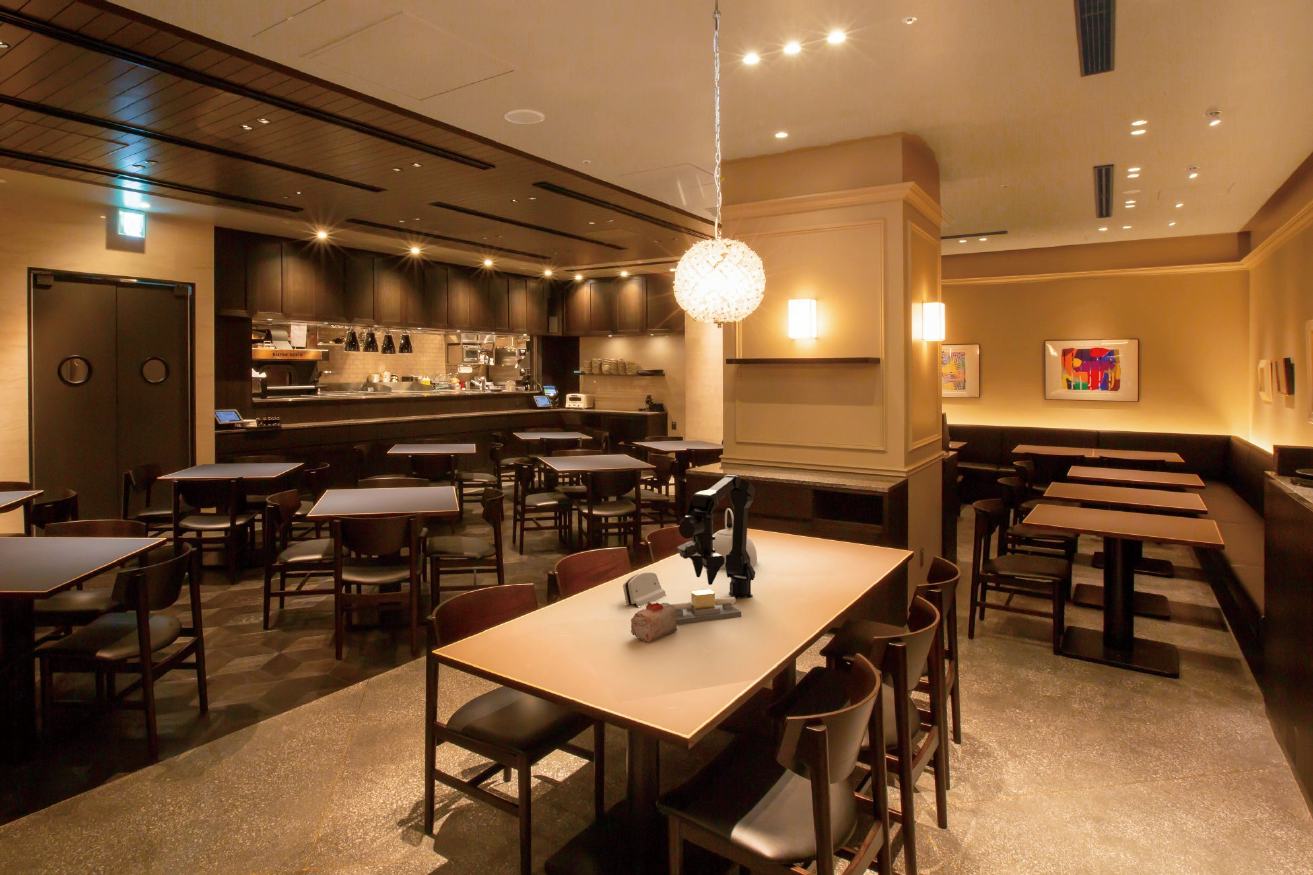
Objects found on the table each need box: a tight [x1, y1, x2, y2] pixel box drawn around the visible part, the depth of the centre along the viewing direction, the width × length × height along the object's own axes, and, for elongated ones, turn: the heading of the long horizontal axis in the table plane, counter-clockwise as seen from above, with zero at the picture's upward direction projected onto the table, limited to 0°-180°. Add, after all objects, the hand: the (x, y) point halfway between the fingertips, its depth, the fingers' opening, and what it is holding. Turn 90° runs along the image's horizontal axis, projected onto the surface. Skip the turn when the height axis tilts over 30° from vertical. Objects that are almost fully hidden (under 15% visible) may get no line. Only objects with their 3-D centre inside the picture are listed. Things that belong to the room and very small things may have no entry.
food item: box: [630, 601, 678, 643], centre depth 206 cm, size 14×8×10 cm, turn 139°
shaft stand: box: [671, 596, 742, 625], centre depth 224 cm, size 22×10×5 cm, turn 110°
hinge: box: [622, 572, 667, 607], centre depth 241 cm, size 17×5×10 cm, turn 144°
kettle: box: [712, 508, 758, 570], centre depth 291 cm, size 25×23×23 cm
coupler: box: [690, 589, 716, 612], centre depth 224 cm, size 6×4×6 cm, turn 110°
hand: (704, 580), depth 225 cm, fingers open, 9 cm apart
